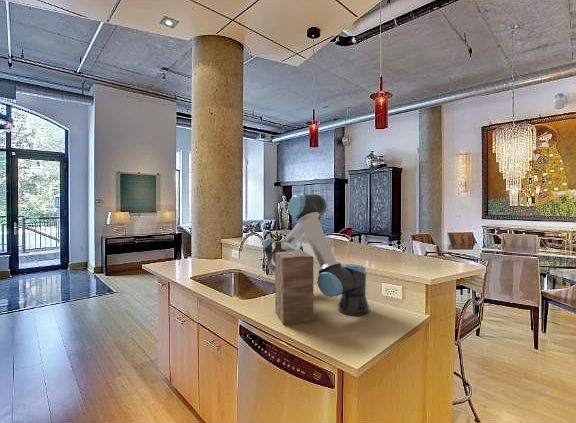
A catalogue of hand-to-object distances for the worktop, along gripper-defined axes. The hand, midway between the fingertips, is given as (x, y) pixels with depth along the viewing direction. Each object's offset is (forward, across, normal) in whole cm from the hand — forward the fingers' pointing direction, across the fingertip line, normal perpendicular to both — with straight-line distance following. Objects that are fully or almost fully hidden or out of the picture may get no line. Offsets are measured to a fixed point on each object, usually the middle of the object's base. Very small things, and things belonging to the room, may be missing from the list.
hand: (287, 243), depth 159 cm
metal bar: (+3, 0, -6) cm, 6 cm away
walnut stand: (-8, 0, -34) cm, 35 cm away
